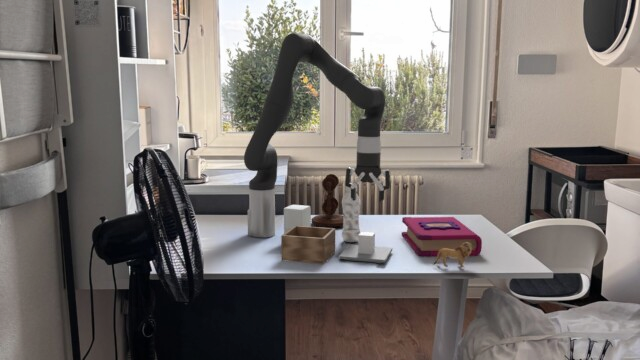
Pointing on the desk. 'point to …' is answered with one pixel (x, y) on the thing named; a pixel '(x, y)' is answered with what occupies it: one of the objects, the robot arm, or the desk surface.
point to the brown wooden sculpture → (329, 205)
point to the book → (438, 235)
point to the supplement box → (297, 216)
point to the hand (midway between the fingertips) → (367, 201)
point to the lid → (366, 250)
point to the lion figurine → (455, 254)
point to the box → (308, 244)
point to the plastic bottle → (350, 217)
